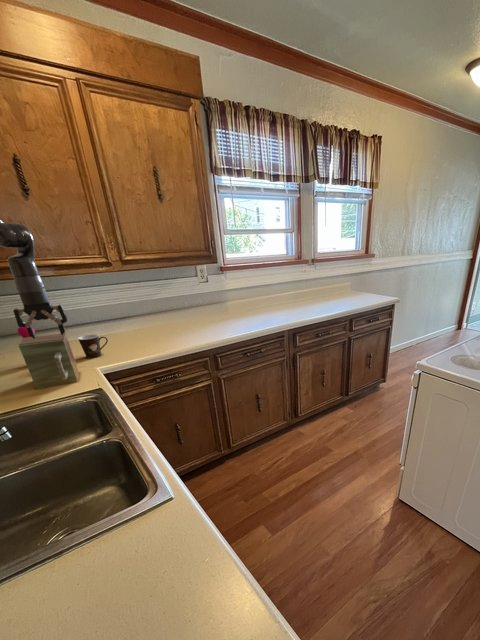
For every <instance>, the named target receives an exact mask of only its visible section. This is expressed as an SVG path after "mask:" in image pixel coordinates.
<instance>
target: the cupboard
mask: <svg viewBox="0 0 480 640" xmlns="http://www.w3.org/2000/svg"><path fill="white" fill-rule="evenodd" d="M58 340H64V342H65V345H66V348H67V351H68V354H69V357H70V359H71V362H72V365H73V368H74V371H75V374H76V377H77V380H78V381H79V378H80V372H79V368H78V366H77V362H76V359H75V356H74V354H73V351H72V348H71V345H70V342H69V340H68V336H67V333H66V332H65V333H64V335H61V333H56V334H55V333H54V334H46V335H38V336H36V338H32V337H28V338H24V339H23V340H22V339H21V341H20V342H19V344H18V346H19V345H24V344H33V343H41V342H49V341H58Z"/></svg>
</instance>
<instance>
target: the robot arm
mask: <svg viewBox="0 0 480 640" xmlns="http://www.w3.org/2000/svg"><path fill="white" fill-rule="evenodd" d="M0 247H2V248H6V249H13V248H14V249H16V254H15V255H12V256H9V257H8V258H7V264H8V266H9V269H10V272H11V274H12V276H13V281H14V285H15V289H16V291H17V292H18V296H19V298H20V300H21V302H22V306H23V308H17V307H16V308H15V309H13V314H14V317H15V320H16V324H17V326H18V328H19V327H25V328H26V329H27V331H28V333H29V336H30V337H32V338H36V337H37V336H36V332H35V333H34V330H35V329H34V330H33V328H34V327H33V326H32V324H33V322H34V320H35V321H42V320H45V321H46V320H49V319H50V320H51V321H53V322H55V323H56V324H57V326H58V331H59V332H60V333H59V334H61V335H64V333H66V328H65V325H64V324H65V323H67V322H68V317H67V315H66V312H65V309H64V307H63V305H62V304H58V305H53V304H51V301H50V299H49V295H48V292H47V289H46V287H45V284H44V281H43V279H42V277H41V275H40V272H39V269H38V267H37V264H36V259H35V258H36V257H35V242H34V237H33V234H32V232H31V231H30V229H29V228H28V226H26V225H25V224H23V223H19V222H3V219H2V218H0ZM54 310H55V311H56V312H57V313H59V315H60V317H61V319H60V318H59V317H57V315H56V314H54V313H53V312H54ZM23 314H26V315H28V316H29V317H28V319H27V321H26V322H25V323H23V322H24V320H23V318H22V316H23ZM32 327H33V328H32Z"/></svg>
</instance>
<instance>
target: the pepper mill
mask: <svg viewBox="0 0 480 640" xmlns="http://www.w3.org/2000/svg"><path fill="white" fill-rule="evenodd" d="M23 323H26V322H25V321H23ZM31 327H32V328H33V330H34V333H35V334H36V330H35V328H34V327H33V326H31ZM17 334H18V335H19V336H20V337H21V341H22V340H23V339H24V338H28V337H30V336H29V333H28V331H27V329H26V328H25V327H19V326H18V328H17Z"/></svg>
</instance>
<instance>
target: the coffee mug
mask: <svg viewBox="0 0 480 640" xmlns="http://www.w3.org/2000/svg"><path fill="white" fill-rule="evenodd" d="M101 339H105V343H104V344H103V345H102V346H101V344H100V342H101ZM77 340H78V342H79V344H80V346H81V349H82V351H83V353H84V355H85V357H86V358H87V359H96V358H99V357H102V349H103V348H104V347H106V345H107V343H108V338H107V337H106V336H100V337H99V335H98V334H85V335H82V336H78V337H77Z"/></svg>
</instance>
